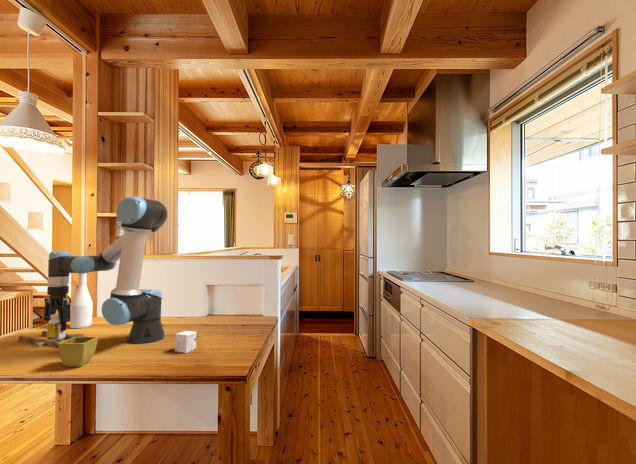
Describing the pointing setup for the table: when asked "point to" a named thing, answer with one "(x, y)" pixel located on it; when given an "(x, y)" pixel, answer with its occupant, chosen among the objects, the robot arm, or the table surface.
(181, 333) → the skincare box
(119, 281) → the robot arm
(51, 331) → the pill bottle
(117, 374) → the table surface
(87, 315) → the wine bottle
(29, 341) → the forked driftwood branch
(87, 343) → the flower pot
